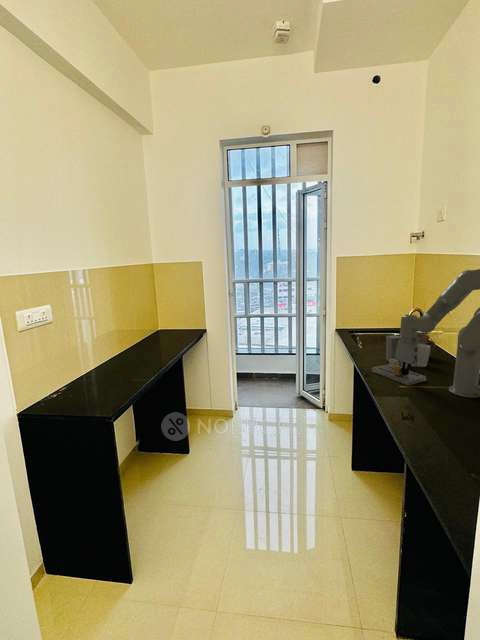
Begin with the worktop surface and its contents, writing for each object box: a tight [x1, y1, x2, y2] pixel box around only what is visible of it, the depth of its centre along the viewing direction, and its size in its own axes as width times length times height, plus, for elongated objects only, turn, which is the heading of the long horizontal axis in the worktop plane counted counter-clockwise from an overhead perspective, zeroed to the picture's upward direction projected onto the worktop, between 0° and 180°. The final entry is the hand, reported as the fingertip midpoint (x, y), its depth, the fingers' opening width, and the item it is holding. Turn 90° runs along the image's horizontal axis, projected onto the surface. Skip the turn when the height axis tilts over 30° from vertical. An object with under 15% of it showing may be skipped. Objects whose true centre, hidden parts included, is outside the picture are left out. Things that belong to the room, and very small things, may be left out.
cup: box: [415, 344, 431, 368], centre depth 194 cm, size 9×9×12 cm
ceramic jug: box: [416, 332, 436, 355], centre depth 211 cm, size 18×14×14 cm
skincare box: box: [385, 334, 400, 365], centre depth 201 cm, size 8×7×16 cm
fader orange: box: [393, 365, 402, 376], centre depth 173 cm, size 3×4×4 cm
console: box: [371, 363, 427, 386], centre depth 178 cm, size 23×13×3 cm, turn 26°
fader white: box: [388, 359, 400, 368], centre depth 184 cm, size 3×4×4 cm
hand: (404, 374), depth 169 cm, fingers closed
